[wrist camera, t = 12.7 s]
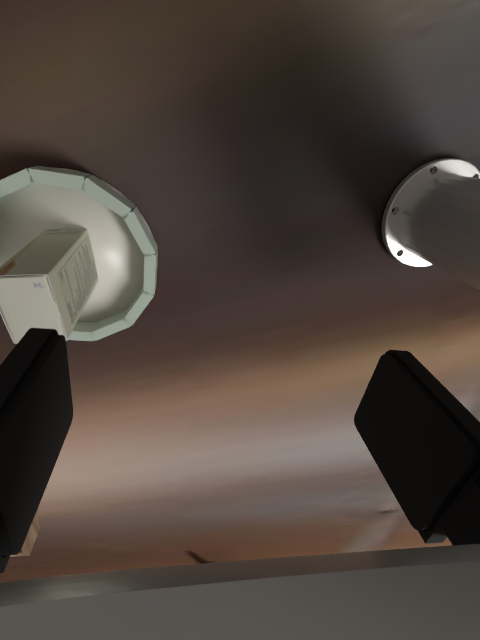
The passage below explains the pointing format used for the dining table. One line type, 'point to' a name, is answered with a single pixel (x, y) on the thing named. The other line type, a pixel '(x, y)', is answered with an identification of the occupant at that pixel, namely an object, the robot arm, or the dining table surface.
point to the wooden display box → (29, 538)
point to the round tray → (104, 233)
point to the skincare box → (48, 283)
